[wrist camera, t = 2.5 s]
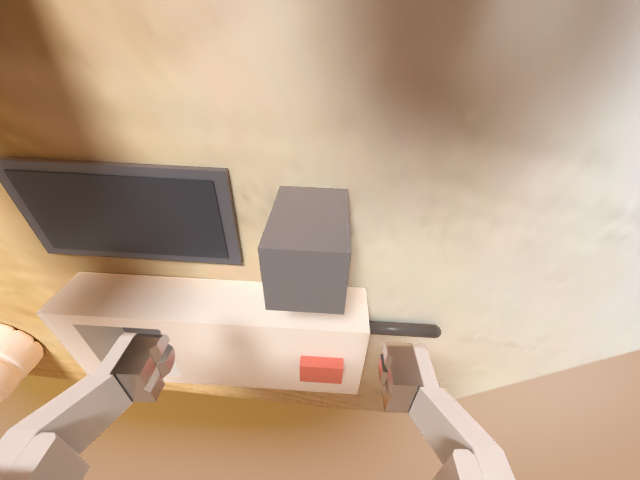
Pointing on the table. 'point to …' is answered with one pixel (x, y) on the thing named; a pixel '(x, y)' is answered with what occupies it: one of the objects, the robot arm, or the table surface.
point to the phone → (126, 209)
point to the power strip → (220, 331)
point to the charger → (306, 251)
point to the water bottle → (16, 358)
